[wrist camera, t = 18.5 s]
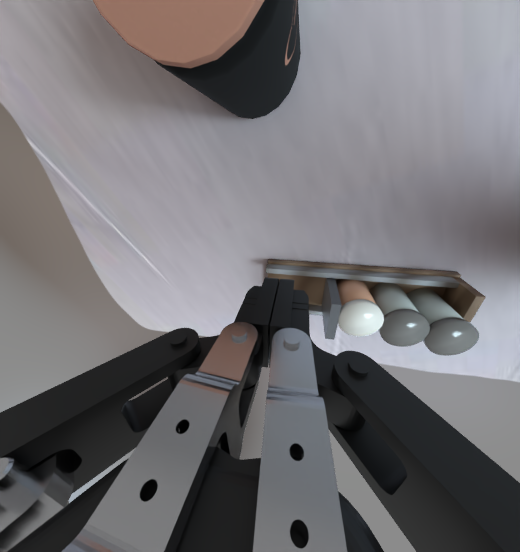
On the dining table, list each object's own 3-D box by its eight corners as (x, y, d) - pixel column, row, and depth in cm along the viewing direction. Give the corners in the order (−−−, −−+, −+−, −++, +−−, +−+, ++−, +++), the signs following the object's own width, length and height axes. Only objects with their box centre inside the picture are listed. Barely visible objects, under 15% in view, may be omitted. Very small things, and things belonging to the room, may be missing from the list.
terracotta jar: (329, 276, 34) (336, 306, 27) (366, 271, 32) (384, 301, 25) (332, 303, 36) (339, 337, 29) (367, 300, 35) (383, 335, 28)
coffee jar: (310, 97, 25) (317, -11, 9) (229, 134, 28) (134, 101, 12) (286, -36, 20) (223, -679, 5) (194, 27, 24) (-20, -231, 8)
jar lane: (456, 271, 31) (487, 294, 26) (433, 319, 35) (455, 346, 30) (268, 259, 35) (262, 275, 30) (268, 302, 40) (262, 323, 35)
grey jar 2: (441, 284, 31) (482, 320, 24) (438, 314, 33) (474, 353, 26) (399, 290, 32) (427, 325, 26) (399, 317, 35) (424, 356, 28)
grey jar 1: (412, 291, 32) (440, 327, 25) (386, 314, 35) (405, 352, 28) (382, 275, 32) (402, 306, 25) (358, 299, 35) (370, 333, 28)
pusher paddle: (334, 275, 33) (341, 305, 26) (328, 305, 36) (334, 339, 29) (326, 274, 34) (331, 304, 27) (321, 304, 36) (325, 338, 30)
